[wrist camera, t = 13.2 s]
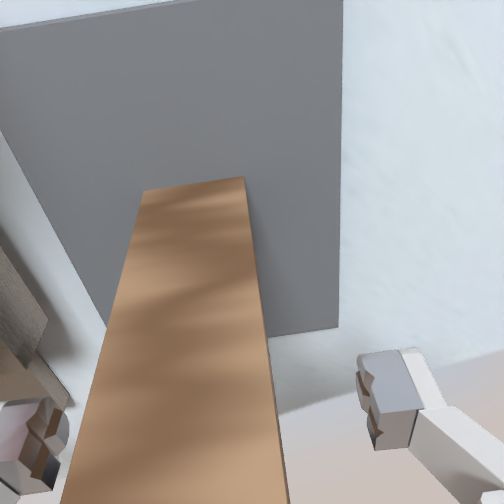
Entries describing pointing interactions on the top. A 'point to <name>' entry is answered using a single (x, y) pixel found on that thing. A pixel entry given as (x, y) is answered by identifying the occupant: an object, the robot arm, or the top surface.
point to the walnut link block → (184, 364)
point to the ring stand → (23, 342)
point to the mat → (187, 133)
